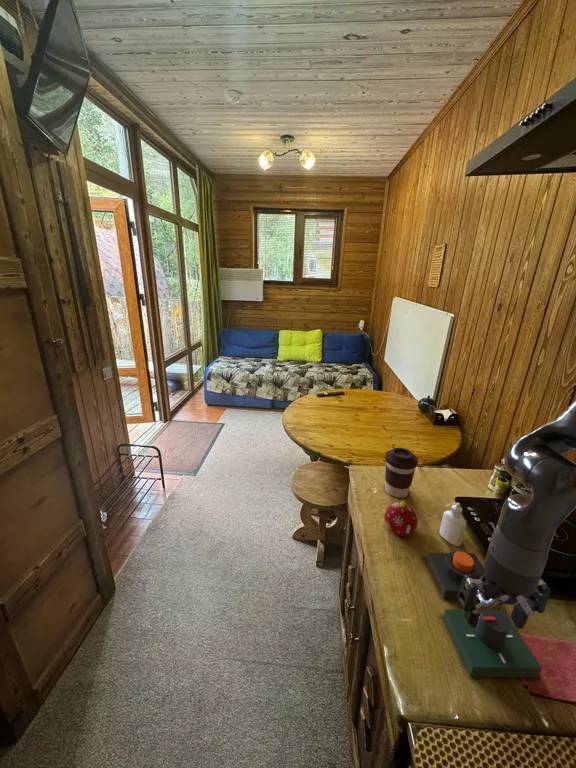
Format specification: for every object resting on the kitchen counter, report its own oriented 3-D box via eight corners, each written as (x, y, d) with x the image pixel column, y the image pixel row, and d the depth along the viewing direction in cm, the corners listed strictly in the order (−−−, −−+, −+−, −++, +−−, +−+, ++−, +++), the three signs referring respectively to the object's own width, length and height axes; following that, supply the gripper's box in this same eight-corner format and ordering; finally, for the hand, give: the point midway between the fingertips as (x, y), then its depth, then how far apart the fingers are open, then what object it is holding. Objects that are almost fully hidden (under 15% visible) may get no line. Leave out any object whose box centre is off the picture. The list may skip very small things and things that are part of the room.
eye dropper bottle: (447, 548, 81) (455, 510, 77) (437, 531, 86) (444, 496, 83) (463, 548, 81) (472, 511, 77) (452, 532, 86) (460, 496, 83)
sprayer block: (471, 562, 77) (475, 546, 75) (497, 601, 68) (502, 584, 66) (424, 561, 77) (427, 545, 75) (443, 600, 67) (447, 583, 66)
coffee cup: (375, 491, 103) (380, 452, 98) (389, 479, 109) (395, 441, 105) (403, 506, 96) (410, 465, 91) (417, 492, 103) (424, 453, 98)
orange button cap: (466, 558, 73) (467, 551, 72) (475, 573, 69) (477, 566, 68) (449, 557, 73) (450, 551, 72) (458, 573, 69) (459, 566, 68)
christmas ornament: (405, 518, 91) (410, 490, 88) (421, 541, 83) (426, 511, 80) (378, 520, 90) (381, 492, 87) (390, 544, 82) (395, 513, 79)
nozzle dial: (493, 624, 60) (499, 606, 59) (509, 649, 56) (515, 631, 54) (471, 623, 60) (476, 606, 59) (485, 649, 56) (490, 630, 54)
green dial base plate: (500, 620, 64) (503, 609, 63) (537, 679, 54) (542, 667, 53) (442, 619, 64) (445, 608, 63) (469, 678, 54) (473, 666, 53)
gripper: (487, 574, 48) (466, 645, 53) (577, 576, 48) (547, 646, 53) (461, 537, 55) (445, 602, 60) (540, 538, 55) (517, 603, 60)
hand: (493, 623), depth 57 cm, fingers open, 8 cm apart
